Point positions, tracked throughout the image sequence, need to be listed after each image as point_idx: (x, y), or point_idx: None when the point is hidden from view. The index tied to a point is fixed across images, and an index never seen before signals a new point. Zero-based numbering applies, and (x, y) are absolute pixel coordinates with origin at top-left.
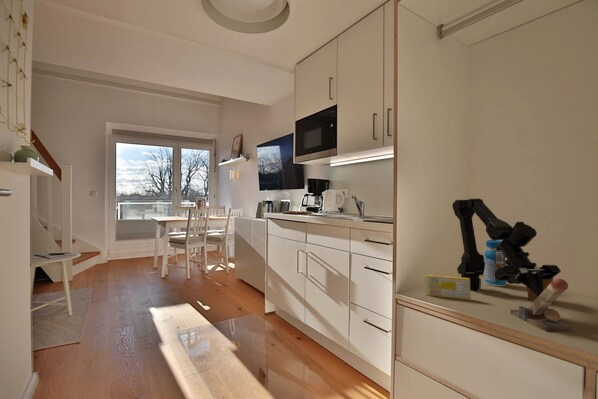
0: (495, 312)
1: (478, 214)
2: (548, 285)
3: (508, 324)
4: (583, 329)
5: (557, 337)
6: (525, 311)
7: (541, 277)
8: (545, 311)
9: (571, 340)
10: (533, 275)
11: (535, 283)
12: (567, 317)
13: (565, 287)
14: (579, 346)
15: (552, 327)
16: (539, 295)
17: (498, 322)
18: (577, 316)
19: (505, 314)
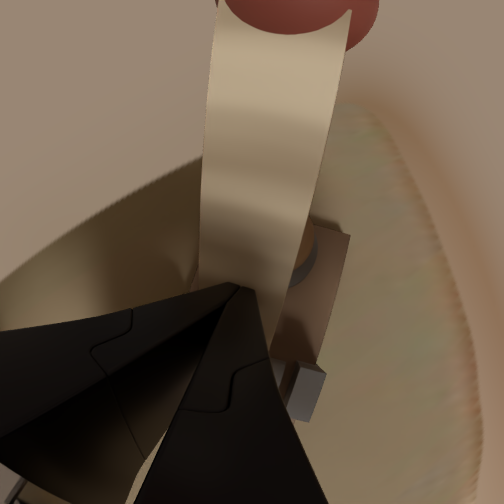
0: (339, 482)
1: None
2: (336, 88)
3: (430, 350)
4: (159, 202)
5: (358, 186)
6: (318, 370)
7: (32, 347)
8: (302, 252)
9: (331, 155)
10: (159, 476)
11: (243, 364)
12: (75, 307)
13: None
14: (352, 124)
15: (315, 226)
16: (284, 291)
17: (447, 379)
18: (39, 295)
19: (319, 453)
